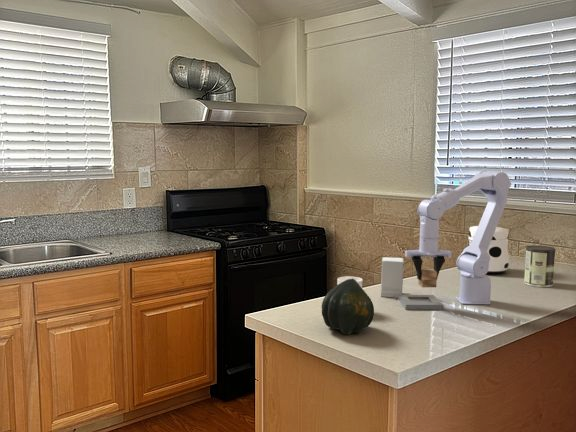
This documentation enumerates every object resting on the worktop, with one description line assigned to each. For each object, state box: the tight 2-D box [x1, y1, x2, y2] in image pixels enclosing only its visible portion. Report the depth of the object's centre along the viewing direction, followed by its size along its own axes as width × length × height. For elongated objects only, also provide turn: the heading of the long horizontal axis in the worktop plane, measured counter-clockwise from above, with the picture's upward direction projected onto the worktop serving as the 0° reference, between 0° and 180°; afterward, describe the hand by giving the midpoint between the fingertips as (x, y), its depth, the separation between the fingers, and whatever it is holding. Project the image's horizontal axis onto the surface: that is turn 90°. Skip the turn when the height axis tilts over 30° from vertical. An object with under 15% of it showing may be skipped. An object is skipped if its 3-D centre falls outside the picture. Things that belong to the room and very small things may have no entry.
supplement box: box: [380, 256, 405, 299], centre depth 199 cm, size 7×7×13 cm
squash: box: [321, 278, 375, 336], centre depth 161 cm, size 14×15×15 cm
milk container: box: [467, 225, 510, 274], centre depth 237 cm, size 17×17×18 cm
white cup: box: [336, 275, 364, 289], centre depth 180 cm, size 8×8×10 cm
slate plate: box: [397, 294, 444, 311], centre depth 188 cm, size 12×12×2 cm
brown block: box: [418, 268, 438, 288], centre depth 184 cm, size 4×4×5 cm
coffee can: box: [523, 244, 557, 288], centre depth 216 cm, size 10×10×14 cm
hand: (427, 279), depth 185 cm, fingers closed on brown block, 5 cm apart
